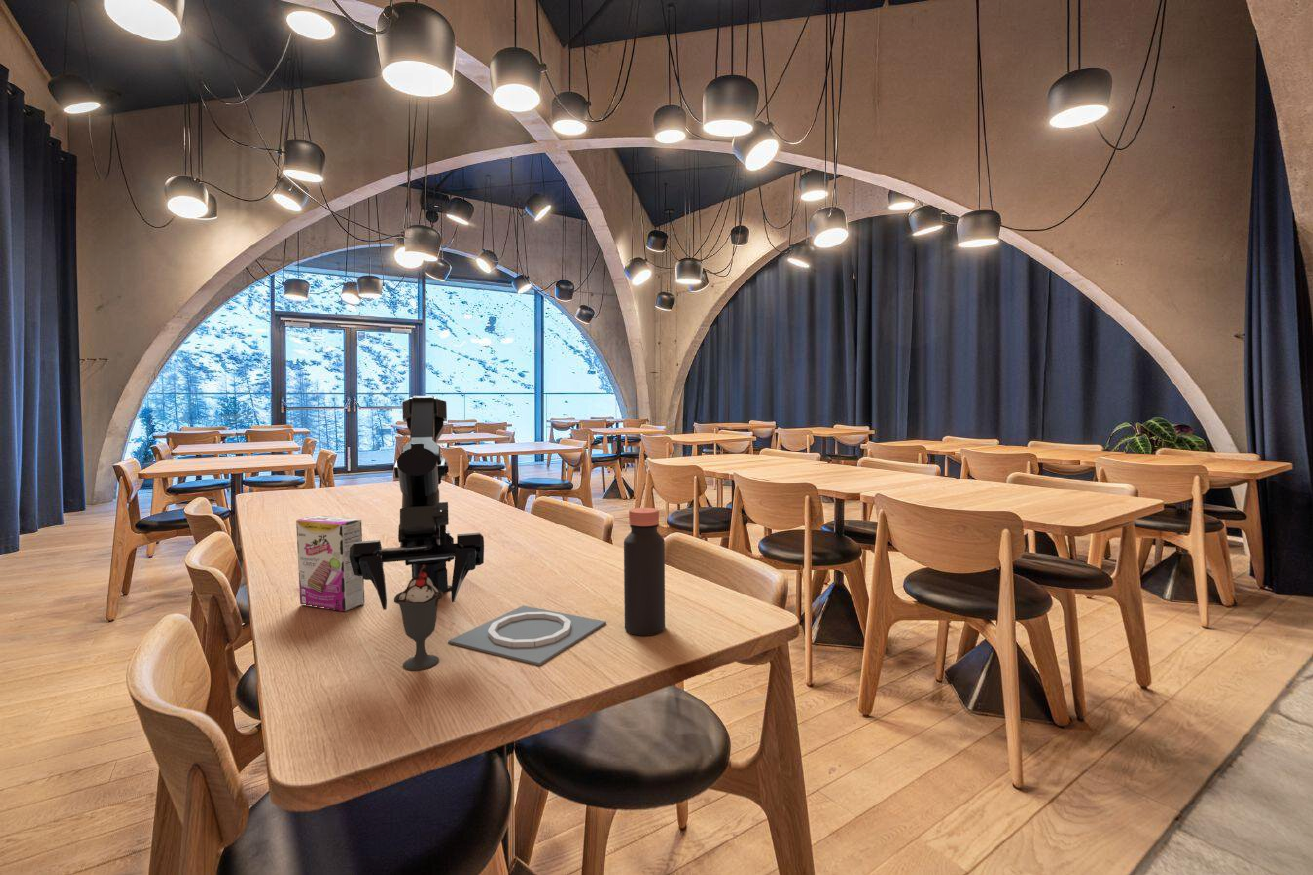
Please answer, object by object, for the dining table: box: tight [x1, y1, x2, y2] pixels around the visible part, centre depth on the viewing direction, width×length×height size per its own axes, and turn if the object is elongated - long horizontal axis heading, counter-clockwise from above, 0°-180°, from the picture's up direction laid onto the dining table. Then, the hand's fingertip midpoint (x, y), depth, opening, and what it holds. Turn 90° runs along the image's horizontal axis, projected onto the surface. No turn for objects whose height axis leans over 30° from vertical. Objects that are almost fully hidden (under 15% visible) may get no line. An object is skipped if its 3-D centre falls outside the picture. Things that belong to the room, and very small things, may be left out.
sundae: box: [393, 564, 444, 671], centre depth 87 cm, size 7×7×15 cm
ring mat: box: [447, 605, 607, 666], centre depth 98 cm, size 18×18×1 cm
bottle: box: [623, 507, 666, 637], centre depth 99 cm, size 7×7×20 cm
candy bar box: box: [295, 515, 365, 612], centre depth 112 cm, size 11×5×16 cm, turn 71°
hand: (419, 604), depth 86 cm, fingers open, 9 cm apart
